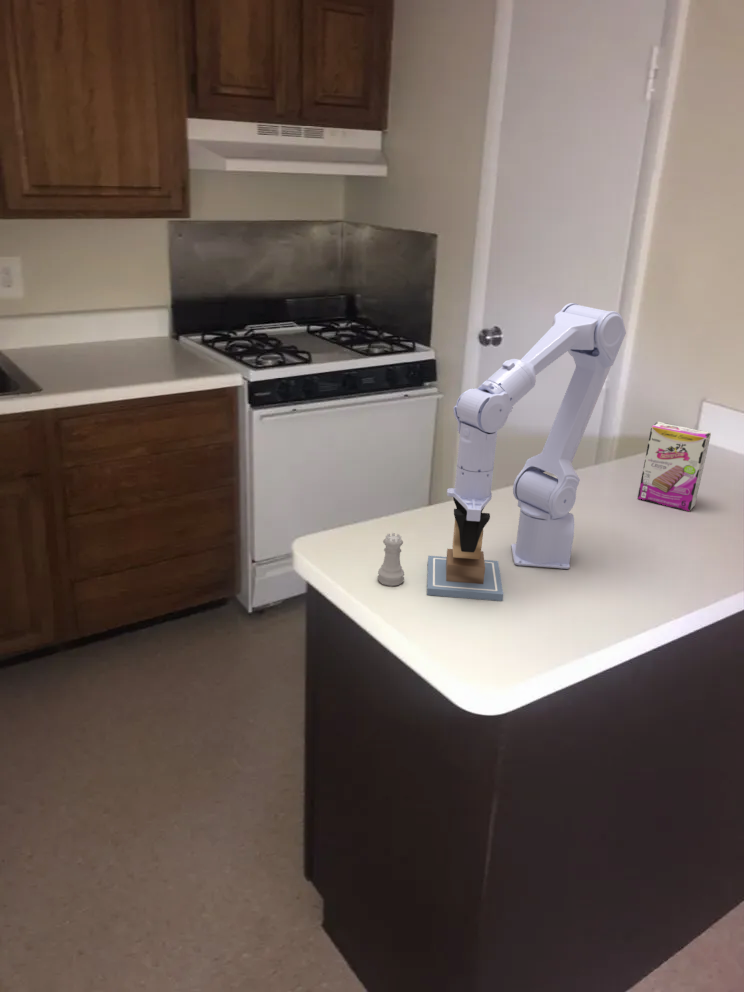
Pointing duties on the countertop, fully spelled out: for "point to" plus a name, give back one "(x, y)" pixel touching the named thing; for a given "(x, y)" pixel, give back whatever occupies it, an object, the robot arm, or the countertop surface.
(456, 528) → the oak block
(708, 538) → the countertop surface
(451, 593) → the board
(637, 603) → the countertop surface
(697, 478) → the candy bar box
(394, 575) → the rook chess piece
